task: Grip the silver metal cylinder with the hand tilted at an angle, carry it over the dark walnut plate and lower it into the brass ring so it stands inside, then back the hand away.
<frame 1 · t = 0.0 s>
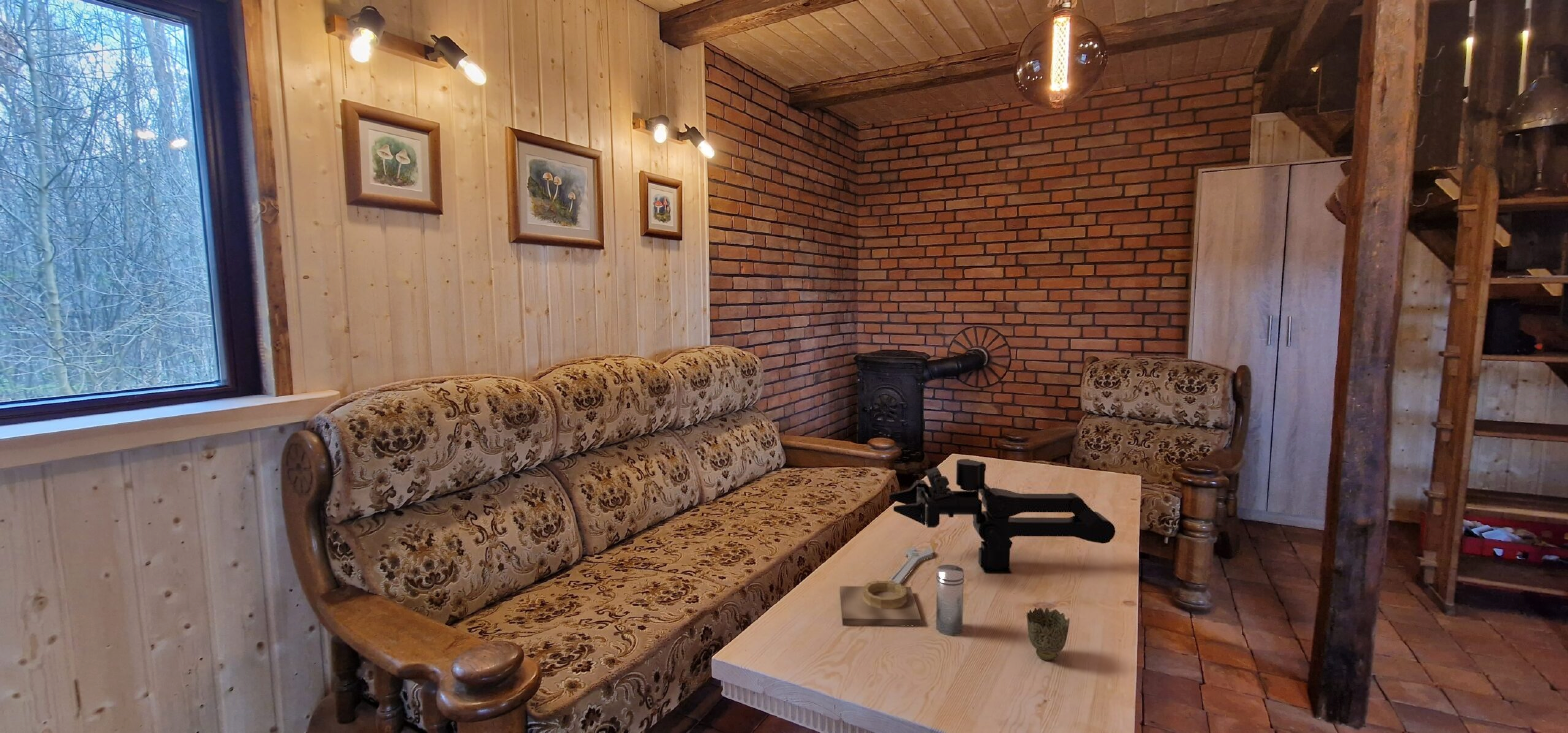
hand: (891, 502, 165), 17 cm above the table, tool horizontal, fingers open, 9 cm apart
cup: (1046, 658, 126), on the table
adjustable wrench: (906, 570, 167), on the table
silver metal cylinder: (949, 629, 137), on the table
ring seat: (884, 605, 147), on the table
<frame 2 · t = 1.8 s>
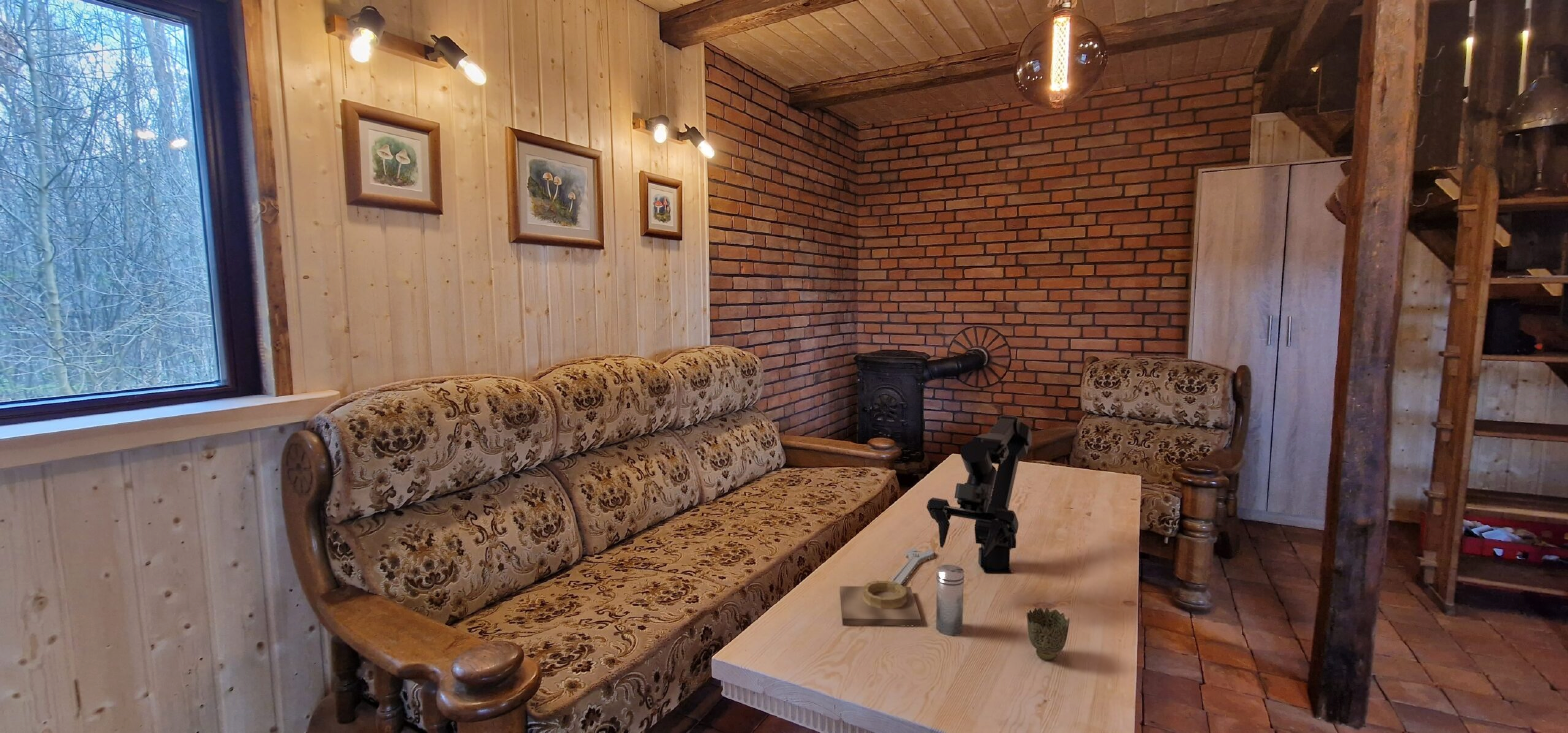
hand: (962, 551, 142), 14 cm above the table, tool tilted 45°, fingers open, 9 cm apart
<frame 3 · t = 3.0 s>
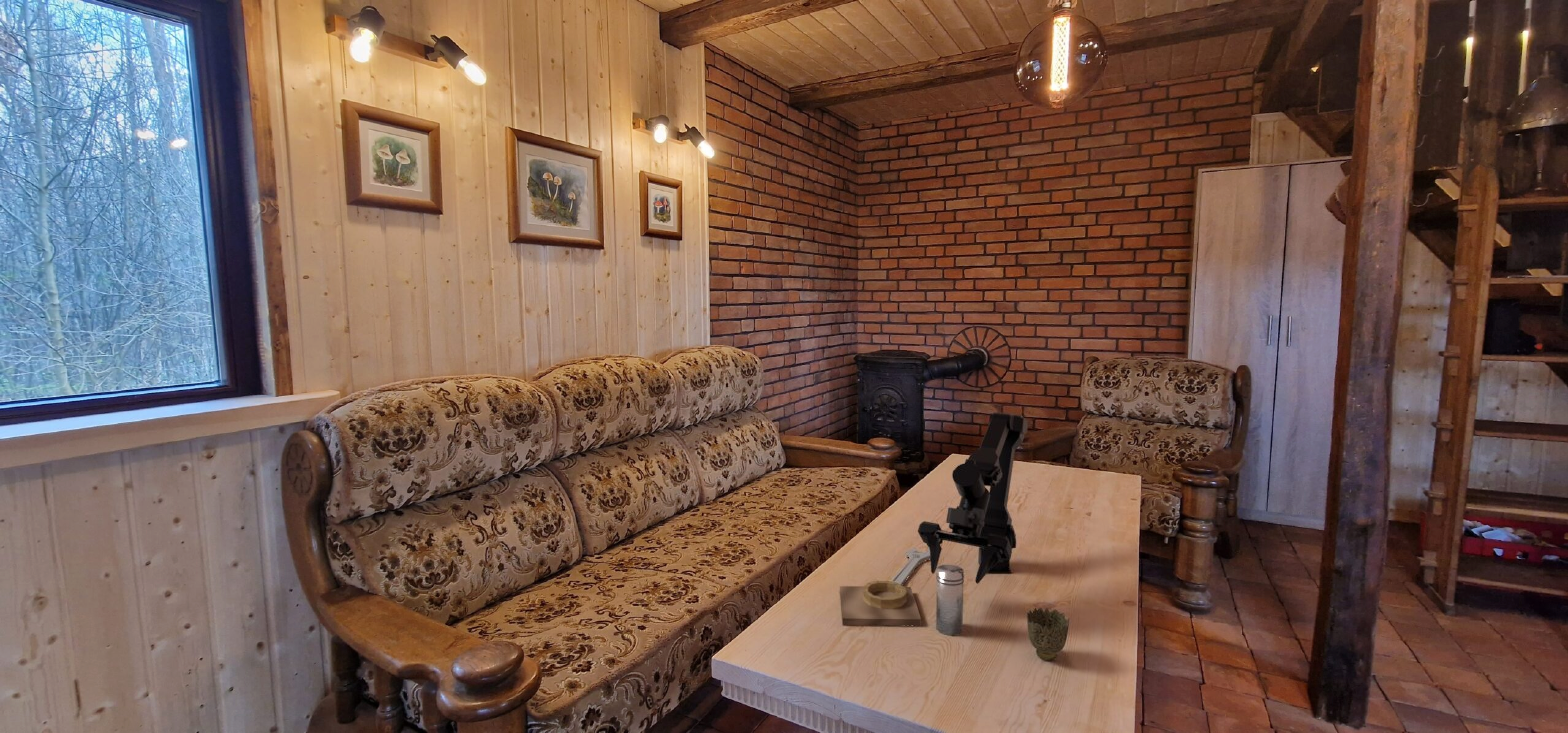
hand: (954, 577, 138), 10 cm above the table, tool tilted 45°, fingers open, 9 cm apart
nothing on the table moved.
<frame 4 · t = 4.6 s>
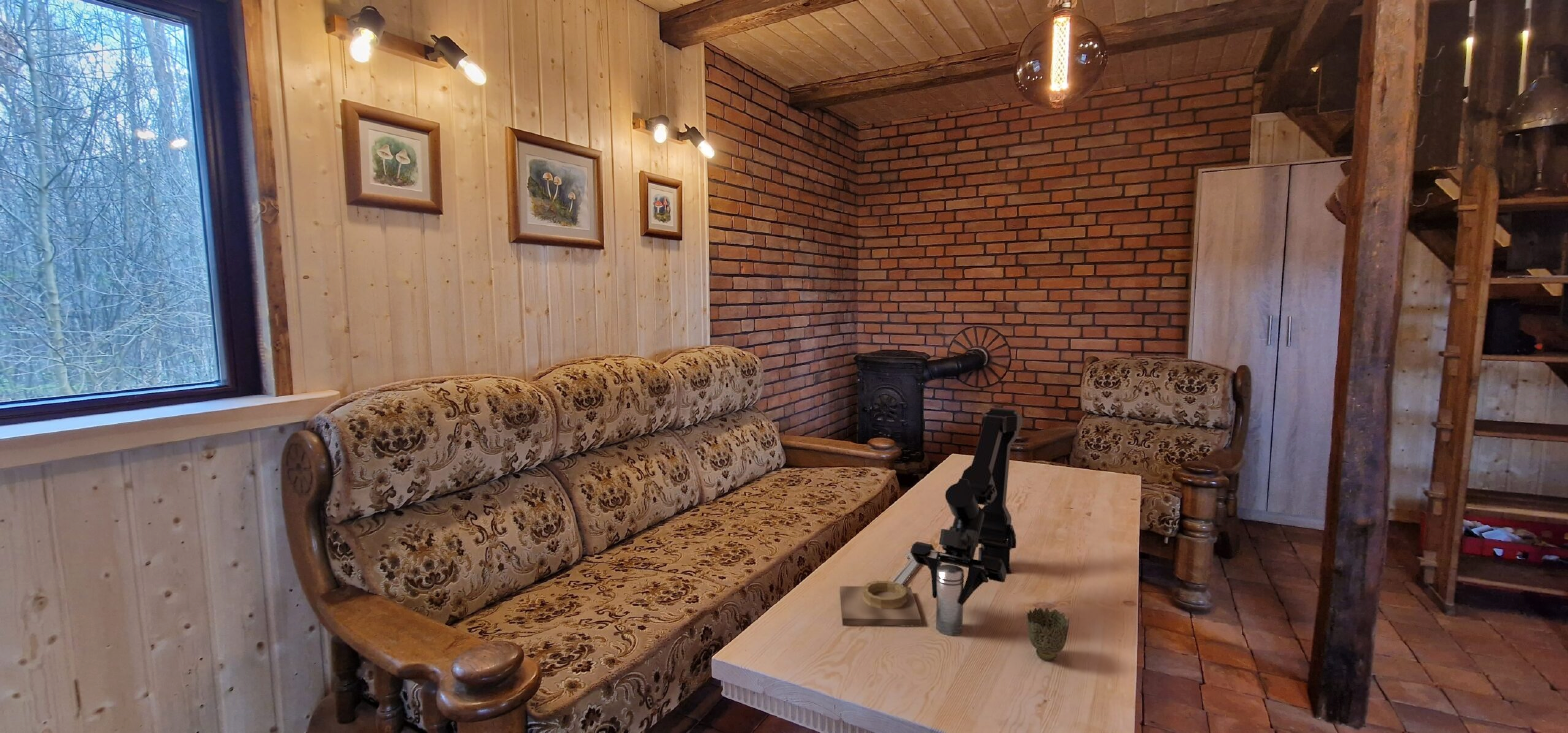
hand: (947, 600, 135), 7 cm above the table, tool tilted 45°, fingers closed on silver metal cylinder, 5 cm apart
silver metal cylinder: (949, 629, 137), on the table, touching gripper
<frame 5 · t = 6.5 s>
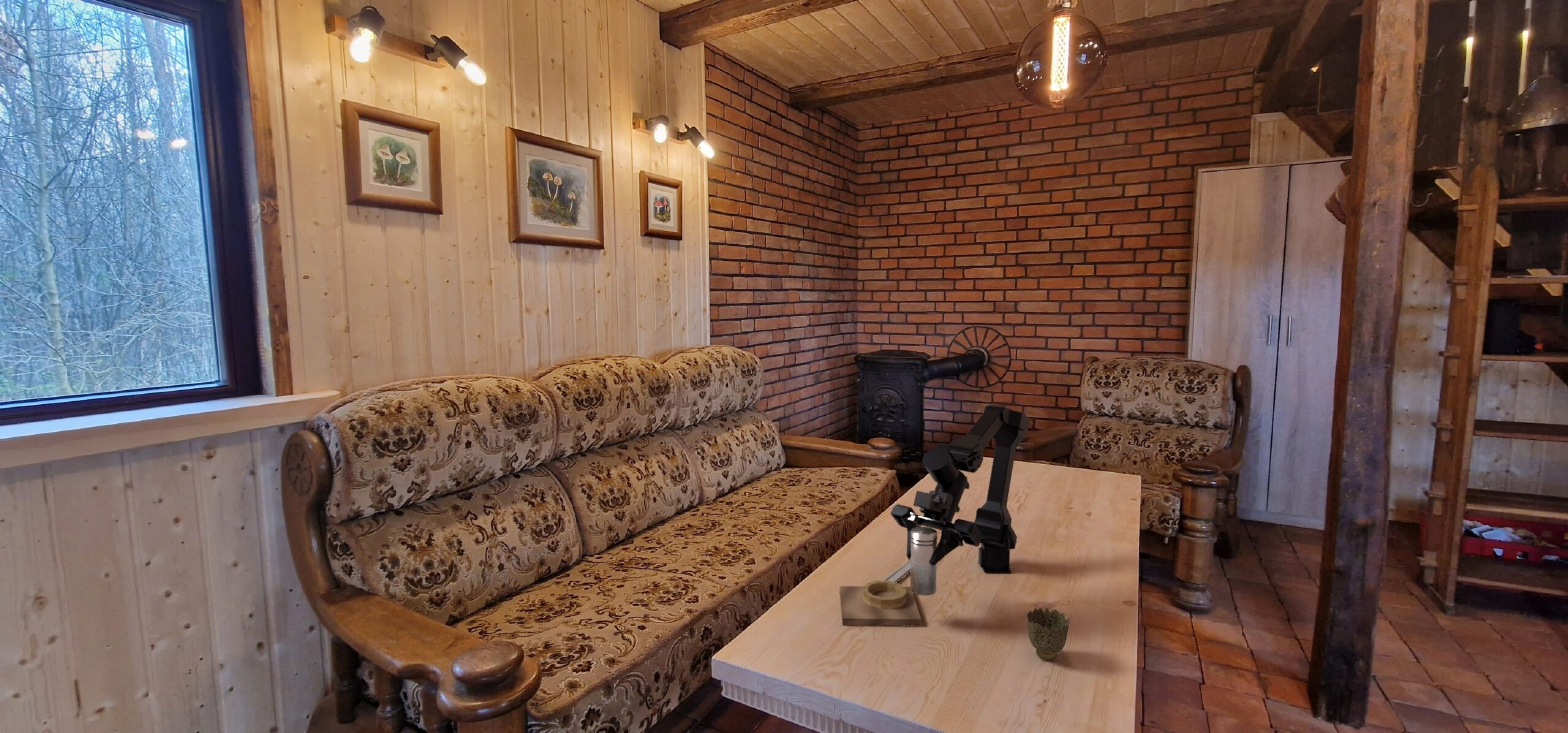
hand: (919, 561, 137), 13 cm above the table, tool tilted 45°, fingers closed on silver metal cylinder, 5 cm apart
silver metal cylinder: (923, 589, 139), point 7 cm above the table, touching gripper
when the fingers open (9 cm above the table, at t = 8.6 s): silver metal cylinder stays where it is, resting on ring seat.
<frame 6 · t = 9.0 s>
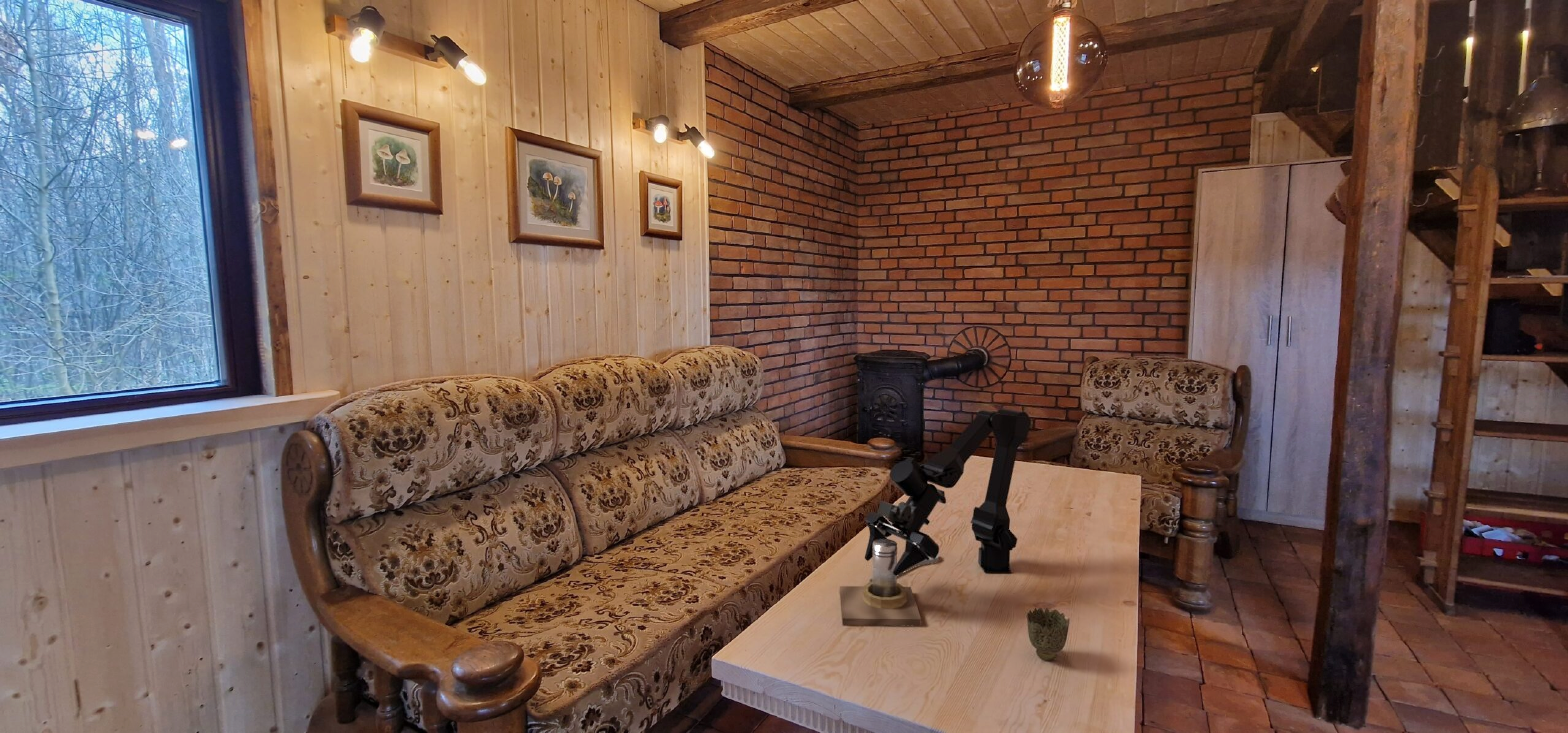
hand: (879, 566, 145), 9 cm above the table, tool tilted 45°, fingers open, 9 cm apart
silver metal cylinder: (884, 598, 147), point 2 cm above the table, touching ring seat
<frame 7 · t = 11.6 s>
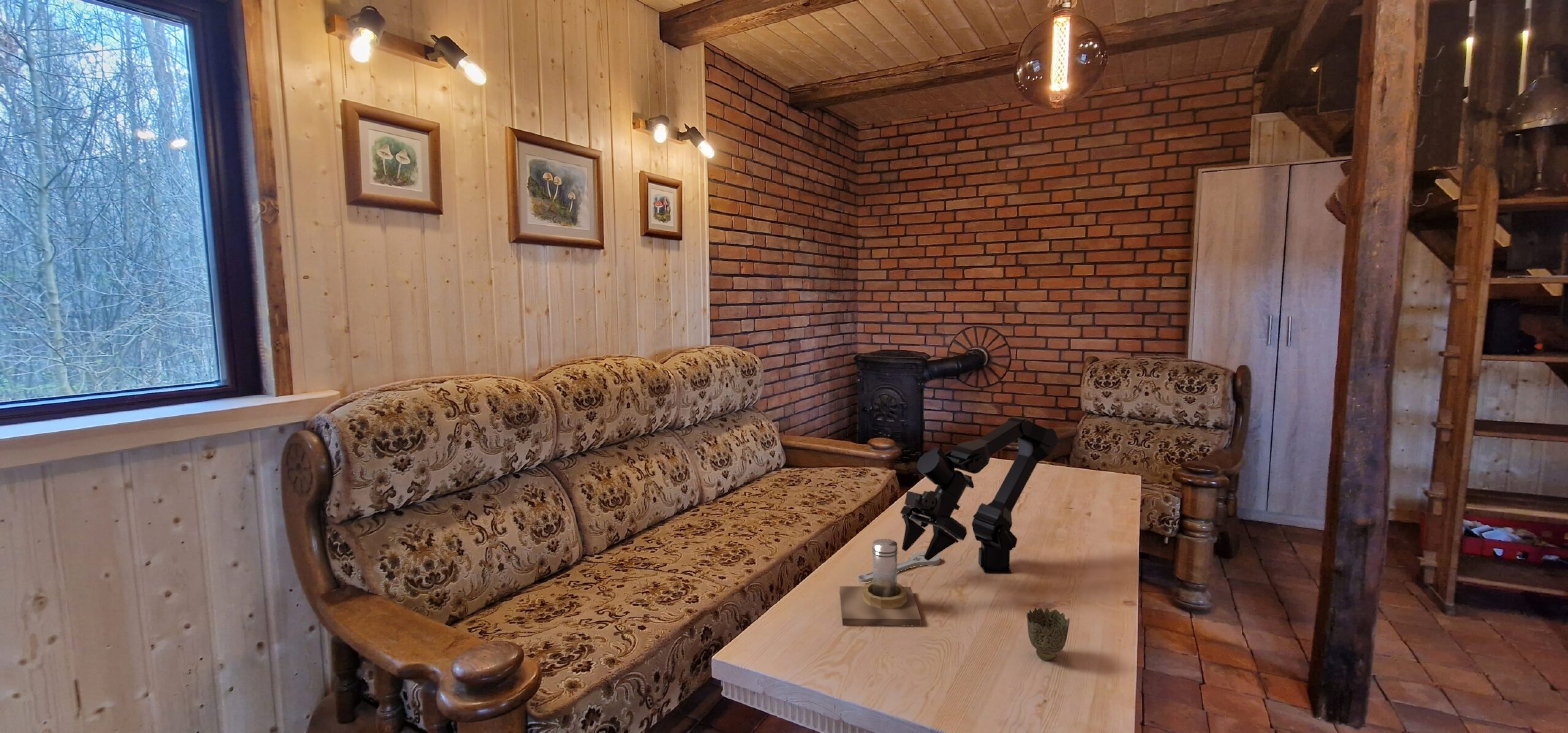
hand: (914, 554, 151), 9 cm above the table, tool tilted 40°, fingers open, 9 cm apart
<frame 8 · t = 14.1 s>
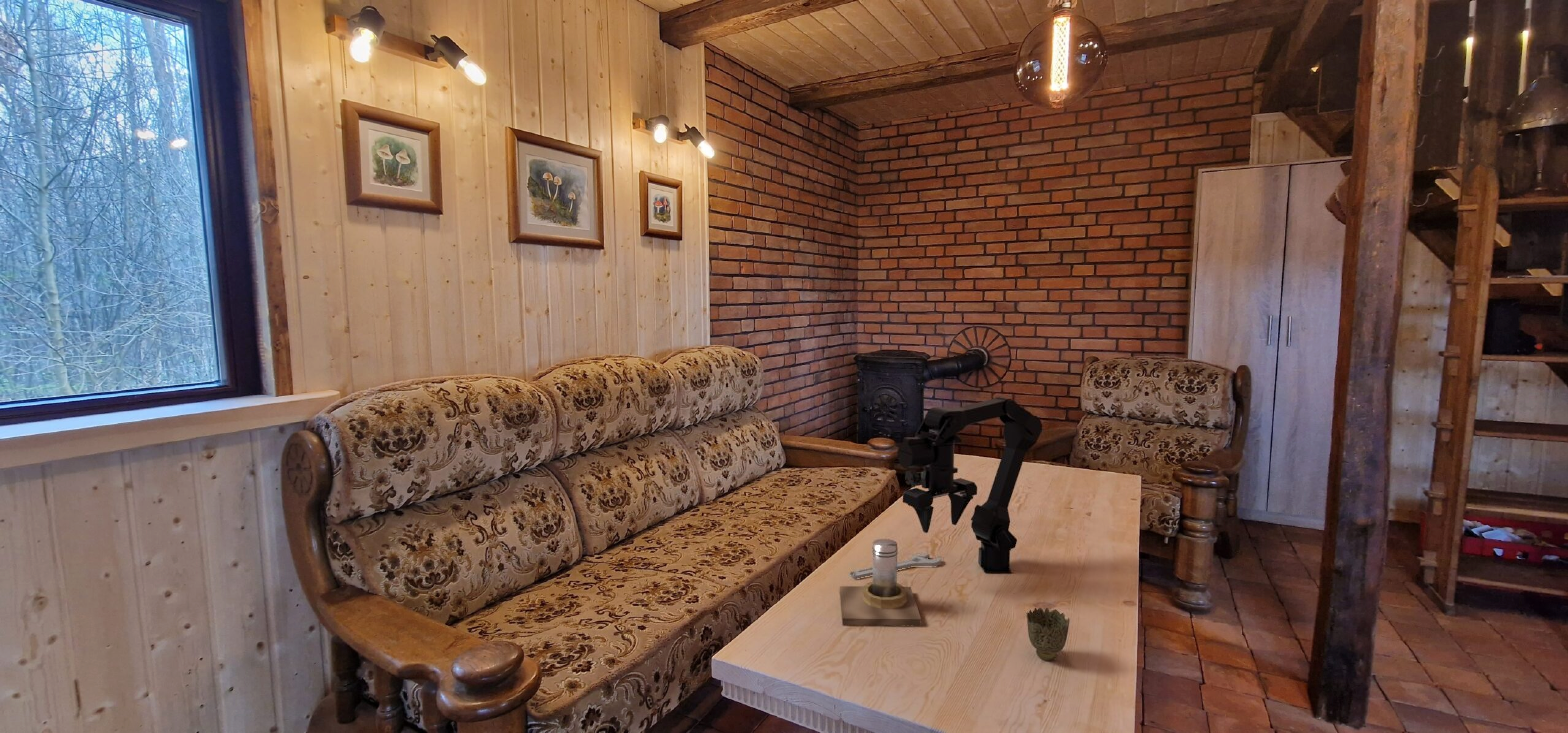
hand: (939, 528, 157), 13 cm above the table, tool pointing down, fingers open, 9 cm apart
at the end: silver metal cylinder 0.0 cm off-centre on the ring seat, point 1.5 cm above the ring seat's base; silver metal cylinder tilted 0°; the gripper is holding nothing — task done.
